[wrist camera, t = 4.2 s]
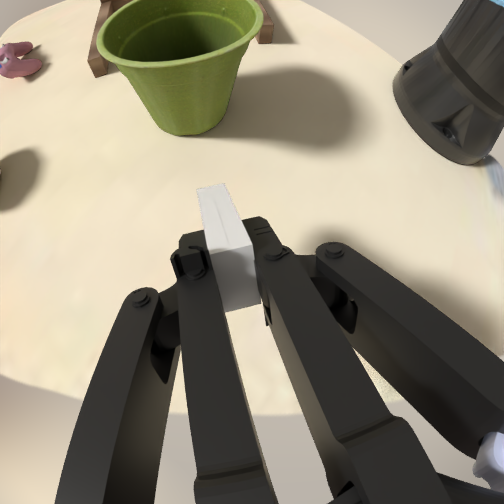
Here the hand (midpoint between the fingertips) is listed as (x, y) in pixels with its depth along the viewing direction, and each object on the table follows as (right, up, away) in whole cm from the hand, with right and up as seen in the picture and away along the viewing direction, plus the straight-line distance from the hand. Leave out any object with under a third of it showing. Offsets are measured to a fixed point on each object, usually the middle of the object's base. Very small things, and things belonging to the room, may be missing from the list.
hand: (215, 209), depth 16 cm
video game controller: (-32, +25, +11) cm, 42 cm away
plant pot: (-4, +12, +10) cm, 16 cm away
